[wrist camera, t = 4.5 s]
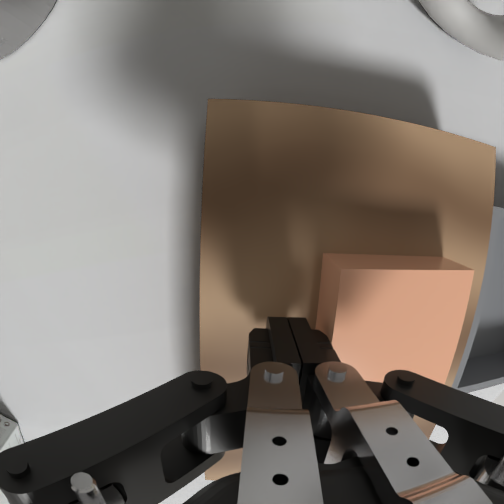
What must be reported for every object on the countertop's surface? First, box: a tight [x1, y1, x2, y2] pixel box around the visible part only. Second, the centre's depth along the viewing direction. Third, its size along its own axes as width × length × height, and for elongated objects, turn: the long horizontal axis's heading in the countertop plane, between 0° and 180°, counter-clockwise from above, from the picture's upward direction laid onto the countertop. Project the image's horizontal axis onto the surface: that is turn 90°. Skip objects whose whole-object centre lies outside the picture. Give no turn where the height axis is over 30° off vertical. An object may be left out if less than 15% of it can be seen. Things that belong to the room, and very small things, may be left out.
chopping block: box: [200, 99, 496, 480], centre depth 16 cm, size 20×14×5 cm
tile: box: [315, 253, 474, 385], centre depth 12 cm, size 6×6×2 cm
